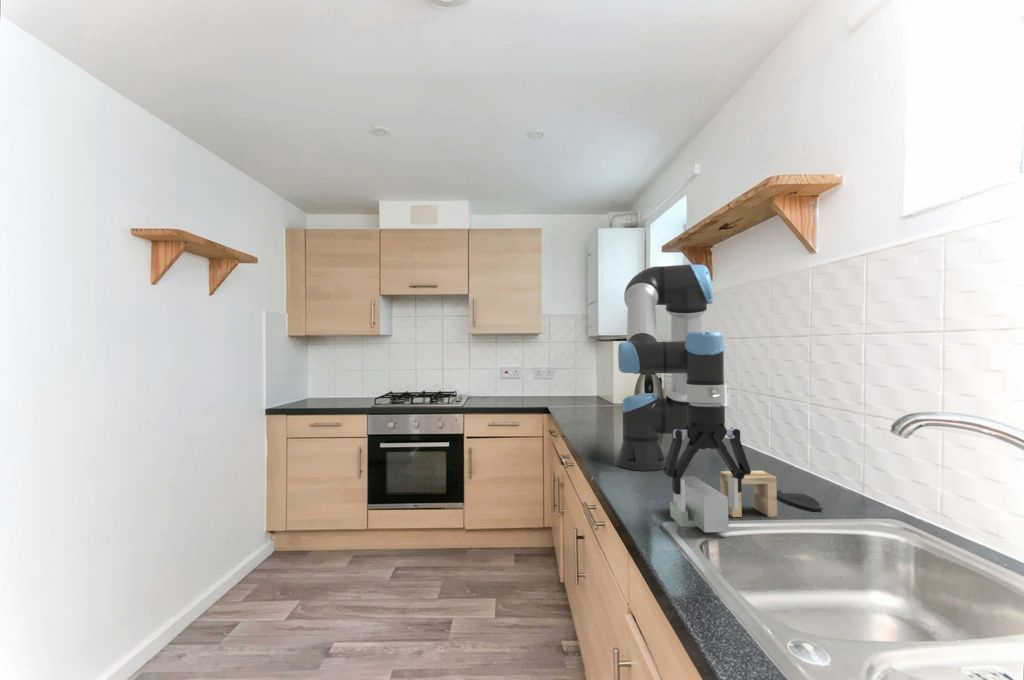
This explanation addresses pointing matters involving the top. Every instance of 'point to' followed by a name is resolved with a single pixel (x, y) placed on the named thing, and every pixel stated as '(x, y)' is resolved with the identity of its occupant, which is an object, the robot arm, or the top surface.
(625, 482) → the top surface
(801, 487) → the top surface
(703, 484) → the steel bar
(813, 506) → the fan shaped piece
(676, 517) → the cradle
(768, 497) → the block
